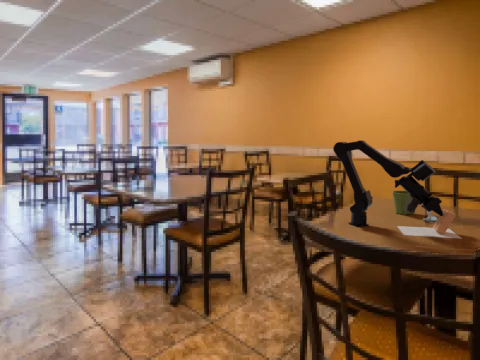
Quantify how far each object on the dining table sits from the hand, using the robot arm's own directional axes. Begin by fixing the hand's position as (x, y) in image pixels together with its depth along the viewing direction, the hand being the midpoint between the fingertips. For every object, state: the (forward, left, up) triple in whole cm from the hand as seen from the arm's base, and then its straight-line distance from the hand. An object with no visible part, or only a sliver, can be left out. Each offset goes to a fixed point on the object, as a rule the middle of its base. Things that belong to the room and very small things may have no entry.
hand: (442, 215), depth 132 cm
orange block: (-1, -1, -7) cm, 7 cm away
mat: (-3, -4, -8) cm, 9 cm away
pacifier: (-15, +13, -8) cm, 21 cm away
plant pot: (-34, +16, -8) cm, 38 cm away
